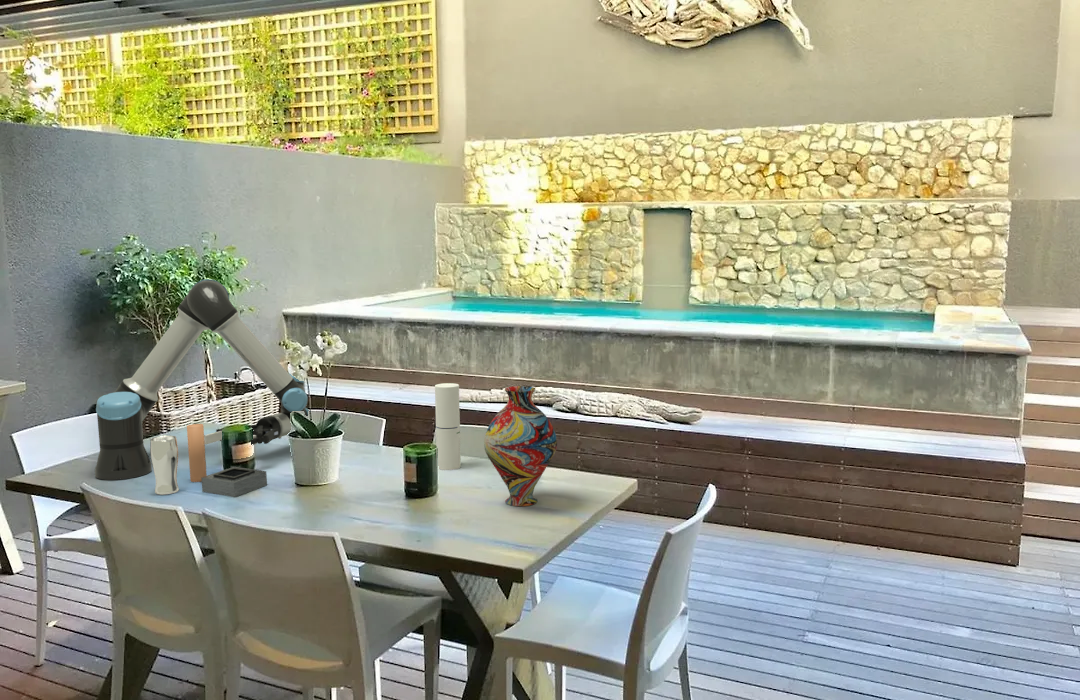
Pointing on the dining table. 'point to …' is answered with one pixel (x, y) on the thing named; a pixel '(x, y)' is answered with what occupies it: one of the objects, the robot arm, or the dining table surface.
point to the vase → (520, 444)
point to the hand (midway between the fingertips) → (222, 442)
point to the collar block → (234, 481)
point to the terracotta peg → (196, 452)
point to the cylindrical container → (448, 425)
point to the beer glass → (165, 463)
